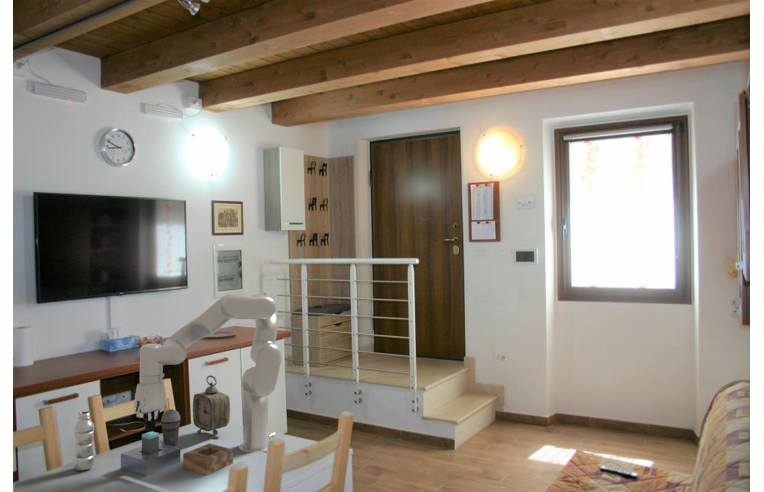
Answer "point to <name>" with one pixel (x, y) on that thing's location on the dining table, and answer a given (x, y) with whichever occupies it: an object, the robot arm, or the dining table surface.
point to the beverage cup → (170, 426)
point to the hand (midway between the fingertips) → (150, 430)
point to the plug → (150, 443)
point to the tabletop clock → (211, 409)
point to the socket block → (150, 460)
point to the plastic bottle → (84, 442)
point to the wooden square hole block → (208, 459)
